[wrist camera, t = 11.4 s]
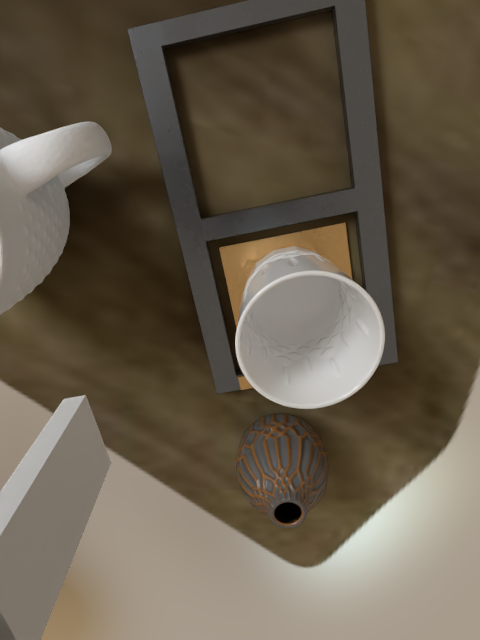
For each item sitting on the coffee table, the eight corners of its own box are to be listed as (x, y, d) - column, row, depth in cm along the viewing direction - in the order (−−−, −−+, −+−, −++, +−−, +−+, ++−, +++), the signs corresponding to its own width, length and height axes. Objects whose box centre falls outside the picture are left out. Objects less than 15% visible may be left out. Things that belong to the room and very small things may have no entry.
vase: (323, 465, 39) (345, 548, 31) (244, 475, 39) (244, 560, 31) (314, 394, 37) (336, 463, 28) (230, 406, 37) (226, 478, 29)
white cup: (278, 359, 35) (291, 434, 26) (215, 280, 33) (204, 329, 24) (365, 301, 34) (413, 357, 24) (305, 214, 32) (332, 239, 22)
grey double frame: (131, 33, 28) (126, 28, 27) (358, -21, 27) (363, -29, 26) (217, 387, 36) (216, 395, 35) (393, 356, 35) (398, 363, 34)
